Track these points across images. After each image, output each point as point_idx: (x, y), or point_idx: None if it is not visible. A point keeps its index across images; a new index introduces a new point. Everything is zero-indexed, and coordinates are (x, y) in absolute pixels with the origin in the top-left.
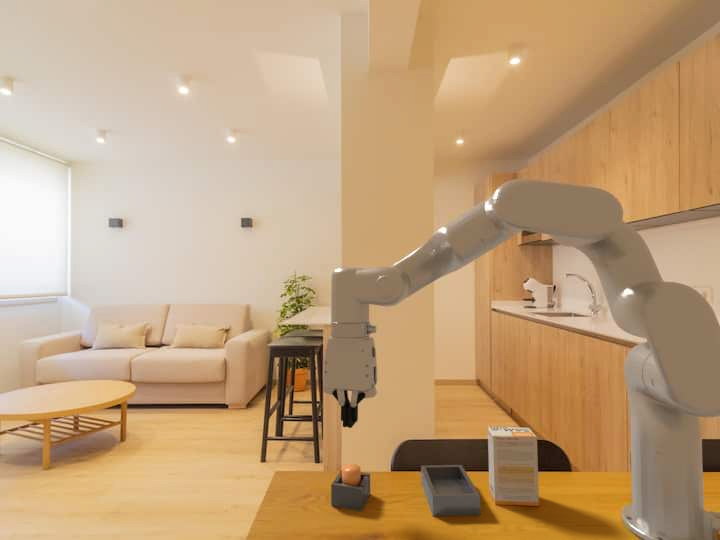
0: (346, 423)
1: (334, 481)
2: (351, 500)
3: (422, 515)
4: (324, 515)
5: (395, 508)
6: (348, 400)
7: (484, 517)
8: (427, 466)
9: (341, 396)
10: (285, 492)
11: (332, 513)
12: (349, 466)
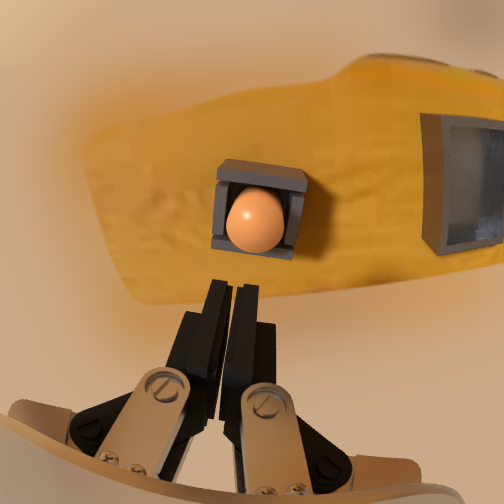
0: (224, 355)
1: (214, 233)
2: None
3: (405, 237)
4: (216, 257)
5: (359, 219)
6: (199, 412)
7: None
8: (454, 121)
9: (164, 465)
10: (112, 195)
11: None
12: (247, 217)
